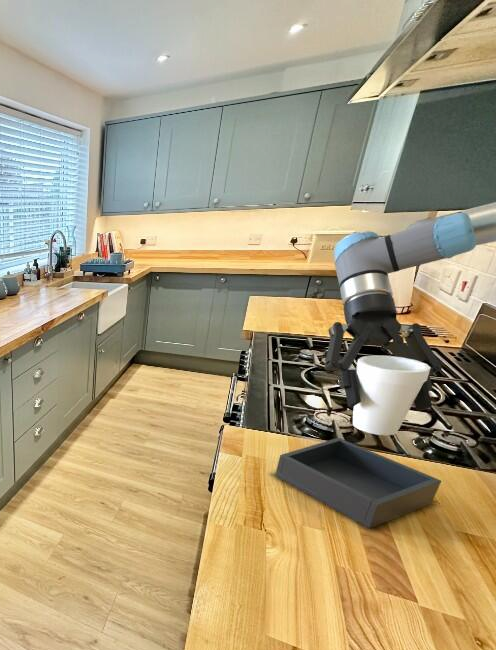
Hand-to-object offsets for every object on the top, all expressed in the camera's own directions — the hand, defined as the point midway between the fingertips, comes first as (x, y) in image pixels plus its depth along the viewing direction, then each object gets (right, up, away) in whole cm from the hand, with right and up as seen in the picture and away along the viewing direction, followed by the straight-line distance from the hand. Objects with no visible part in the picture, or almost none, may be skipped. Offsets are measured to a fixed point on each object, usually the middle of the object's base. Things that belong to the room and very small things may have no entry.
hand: (388, 406), depth 75 cm
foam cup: (+1, -4, +4) cm, 6 cm away
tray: (-3, -16, +5) cm, 17 cm away
